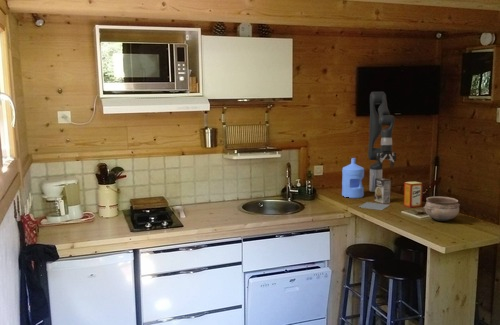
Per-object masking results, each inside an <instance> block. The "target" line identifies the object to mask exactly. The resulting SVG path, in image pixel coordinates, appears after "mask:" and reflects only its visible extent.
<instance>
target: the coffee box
mask: <svg viewBox="0 0 500 325" xmlns="http://www.w3.org/2000/svg"><path fill="white" fill-rule="evenodd" d="M391 181H392V180H391V179H390V178H389V179H388V178H386V177H385V178H384V177H382V178H375V192H374V202H376V203H379V204H390V202H391V185H392V184H391Z"/></svg>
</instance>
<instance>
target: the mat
mask: <svg viewBox="0 0 500 325" xmlns="http://www.w3.org/2000/svg"><path fill="white" fill-rule="evenodd" d="M390 206H391V204H387V203H379V202H370V201H366V202H364V203H363V204H360V205H359V206H358V208H359V207H361V209H367V210H373V211H383V210H385V209H387V208H389V207H390Z"/></svg>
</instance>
